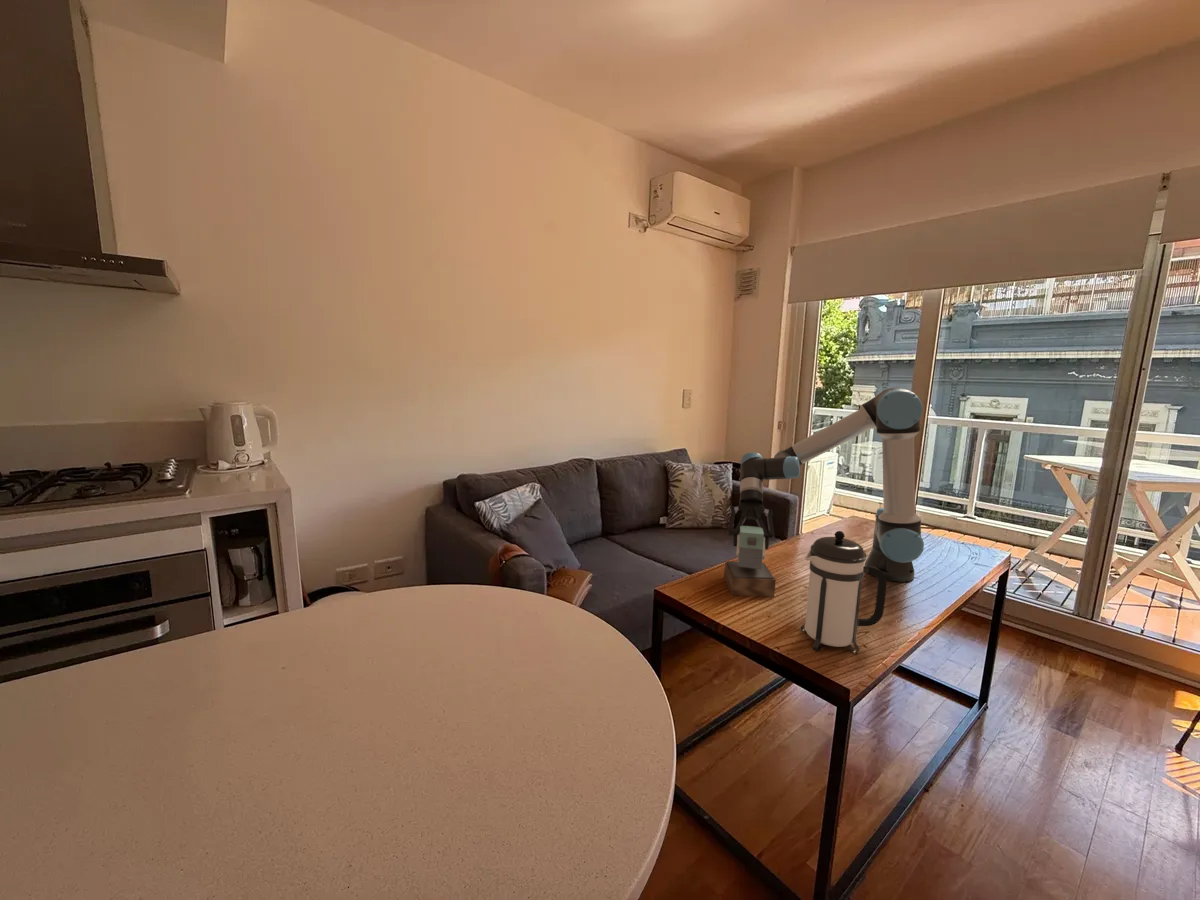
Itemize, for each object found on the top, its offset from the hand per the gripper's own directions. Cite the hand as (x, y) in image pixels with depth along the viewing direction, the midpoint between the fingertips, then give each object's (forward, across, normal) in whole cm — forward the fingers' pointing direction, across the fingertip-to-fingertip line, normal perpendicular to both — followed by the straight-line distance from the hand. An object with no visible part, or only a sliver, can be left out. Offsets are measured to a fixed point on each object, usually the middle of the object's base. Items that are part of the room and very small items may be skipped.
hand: (750, 556), depth 158 cm
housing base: (0, 0, -5) cm, 5 cm away
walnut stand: (+6, 0, -10) cm, 12 cm away
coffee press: (+26, -20, +9) cm, 34 cm away
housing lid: (-4, 0, -1) cm, 4 cm away
